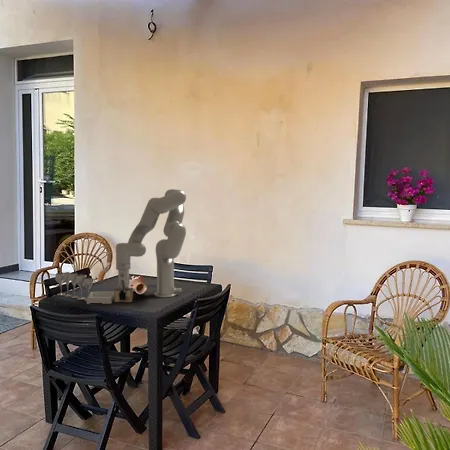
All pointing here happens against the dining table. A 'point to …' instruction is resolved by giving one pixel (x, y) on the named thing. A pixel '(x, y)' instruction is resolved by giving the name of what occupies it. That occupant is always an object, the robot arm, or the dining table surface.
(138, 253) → the robot arm
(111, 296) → the grey square tray
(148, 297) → the dining table surface
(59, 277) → the goblet set
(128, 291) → the small crate
